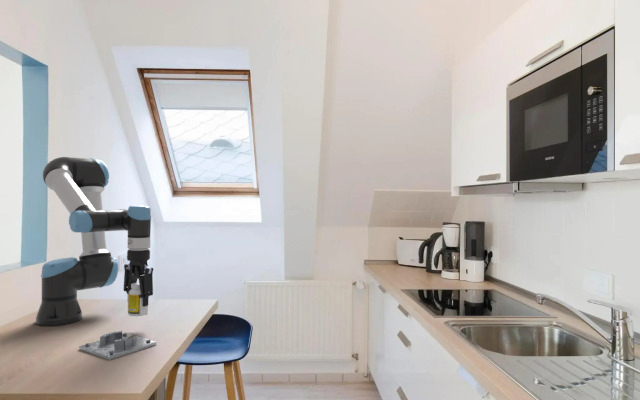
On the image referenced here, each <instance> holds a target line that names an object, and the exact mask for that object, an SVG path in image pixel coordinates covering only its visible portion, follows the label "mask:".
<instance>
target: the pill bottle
mask: <svg viewBox="0 0 640 400" xmlns="http://www.w3.org/2000/svg"><path fill="white" fill-rule="evenodd" d="M131 288H132V289H131V290H130V291H129V298H128V297H127V313H128V316H130V317H141V316H140V296H141V290H140V284H139V281H137V283H132V284H131ZM144 294H145V293H144Z"/></svg>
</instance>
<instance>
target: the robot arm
mask: <svg viewBox="0 0 640 400" xmlns="http://www.w3.org/2000/svg"><path fill="white" fill-rule="evenodd" d="M109 179H110V173H109V168H108V166H107V165H106V163H105V162H104V161H103V160H101V159H94V158H90V157H89V158H84V157H82V158H81V157H71V156H70V157H68V156H60V157H56V158H54V159H52V160H51V161H49V162H48V163H47V164H46V165H45V167H44V168H43V170H42V180H43V182H44V184H45V186H46V187H47V188H48V189H50V190H52V191H54V192H55V195H56V196H57V197H58V199H59V200H60V201H61V203H62V204H63V206H64V207H65V208H66V210H67V211H68V213H69V218H68V225H69V228H70V230H71V232H73V233H81V244H82V252H81V254H79V256H78V258H76V257H73V256H72V257H61V258H58V259H53V260H49V261H47V262H45V263H43V264H42V267H41V275H40V277H41V303H40V305H39V308H38V311H37V314H36V316H35V324H36V325H38V326H45V327H53V326H61V325H68V324H72V323H75V322H79V321H80V320H81V319H83V311H82V309H81V306H80V304H79V301H78V291H84V290H90V289H97V288H104V287H107V286H111V285H113V284H114V283H115V281H116V279H117V277H118V273H119V264H118V261H117V258H116V257H113V256H112V253H111V251H109V250H108V249H107V243H106V242H107V241H106V232H116V231H117V232H118V231H119V232H120V231H125V232H126V231H127V240H126V241H127V249H128V250H127V251H126V253H127V254H126V259H127V261H129V263H124V265H123V268H124V277H123V291H124V292H126V294H127V299H128V298H129V291H130V290H131V289H132V288H131V284H132V283H137V282H139V284H140V290H141V296H140V316H139V317H144V316H146V315H148V312H149V297H151V296H153V295H154V288H153V287H154V286H153V285H154V282H153V279H154V277H153V273H154V267H149V265H148V261H149V260H151V259H150V258H151V249H150V248H151V224H152V222H151V221H152V215H151V209H152V208H151V207H150V206H148V205H129V207H128V208H127V209H125V208H124V209H112V210H110V209H106V210H105V209H104V210H103V203H102V202H103V201H102V193H103V192H104V190H105V187H106V186H107V185H108V183H109ZM144 293H145V294H144Z"/></svg>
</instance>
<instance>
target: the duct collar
mask: <svg viewBox="0 0 640 400" xmlns="http://www.w3.org/2000/svg"><path fill="white" fill-rule="evenodd" d="M156 345H157V341H156V340H152V339H148V338H145V337H141V336H137V334H132V333H129V332H123V331H122V330H119V331H112V332H108V333H104V334H103V335H101V336H99V340H96V341H93V342H90V343H89V342H88V343H85V344H83V345H80V346H78V347H79V351H82V352H85V353H88V354H91V355H94V356H97V357H100V358H101V359H104V360H107V361H112V360H113V359H114V360H115V359H117V358H120V357H123V356H126V355H129V354H132V353H136V352H138V351H141V350H145V349H147V348H150V347H154V346H156Z"/></svg>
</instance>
